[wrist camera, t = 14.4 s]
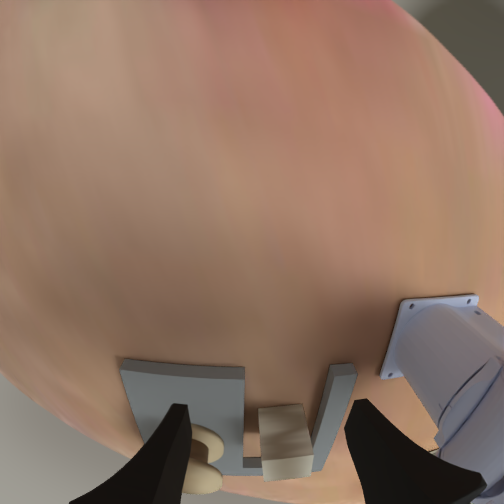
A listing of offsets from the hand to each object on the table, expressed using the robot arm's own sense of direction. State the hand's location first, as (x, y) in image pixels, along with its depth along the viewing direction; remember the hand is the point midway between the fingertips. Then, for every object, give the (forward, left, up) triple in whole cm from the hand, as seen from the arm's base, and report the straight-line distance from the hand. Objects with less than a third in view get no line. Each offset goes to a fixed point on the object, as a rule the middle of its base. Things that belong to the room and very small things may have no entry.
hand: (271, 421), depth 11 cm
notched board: (+2, +13, -10) cm, 16 cm away
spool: (+6, +14, -8) cm, 17 cm away
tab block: (-2, +12, -10) cm, 16 cm away
